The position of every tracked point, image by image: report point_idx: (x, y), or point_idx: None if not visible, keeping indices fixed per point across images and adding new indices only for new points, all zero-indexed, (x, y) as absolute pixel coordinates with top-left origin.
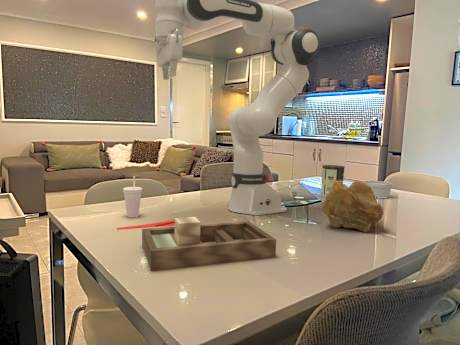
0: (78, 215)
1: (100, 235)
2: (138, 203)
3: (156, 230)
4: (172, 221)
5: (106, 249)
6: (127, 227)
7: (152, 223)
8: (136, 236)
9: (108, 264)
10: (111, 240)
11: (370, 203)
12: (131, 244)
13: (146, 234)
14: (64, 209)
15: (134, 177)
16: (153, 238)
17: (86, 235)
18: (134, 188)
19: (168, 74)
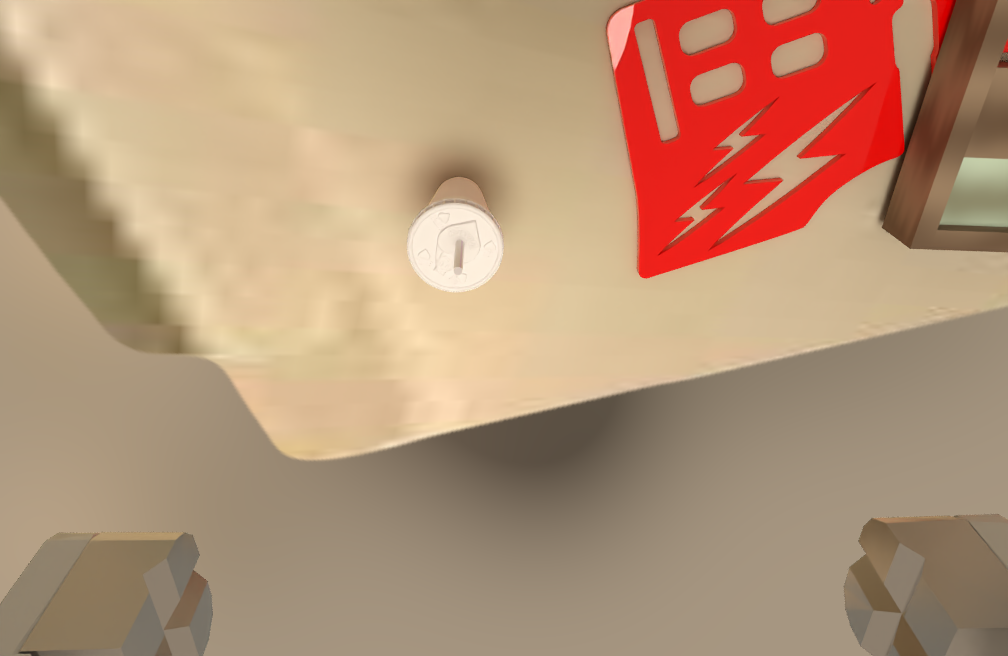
0: (393, 384)
1: (676, 324)
2: (482, 200)
3: (945, 205)
4: (632, 53)
5: (816, 314)
6: (648, 244)
7: (629, 146)
8: (738, 221)
9: (930, 315)
10: (742, 297)
11: None
12: (810, 246)
13: (974, 244)
14: (286, 428)
15: (462, 266)
16: (969, 216)
17: (658, 360)
18: (472, 244)
19: (127, 653)
